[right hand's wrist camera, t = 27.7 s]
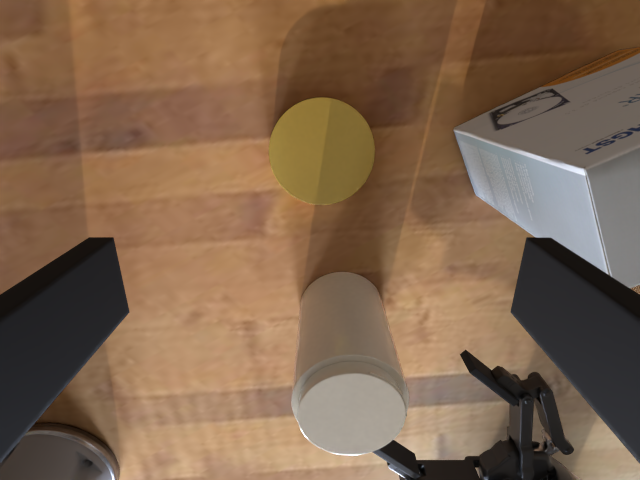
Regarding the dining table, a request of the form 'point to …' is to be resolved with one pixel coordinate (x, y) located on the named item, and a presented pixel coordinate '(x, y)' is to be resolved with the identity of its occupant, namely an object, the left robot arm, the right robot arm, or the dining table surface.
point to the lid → (321, 151)
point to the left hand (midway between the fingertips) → (417, 401)
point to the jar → (347, 368)
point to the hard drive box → (568, 162)
